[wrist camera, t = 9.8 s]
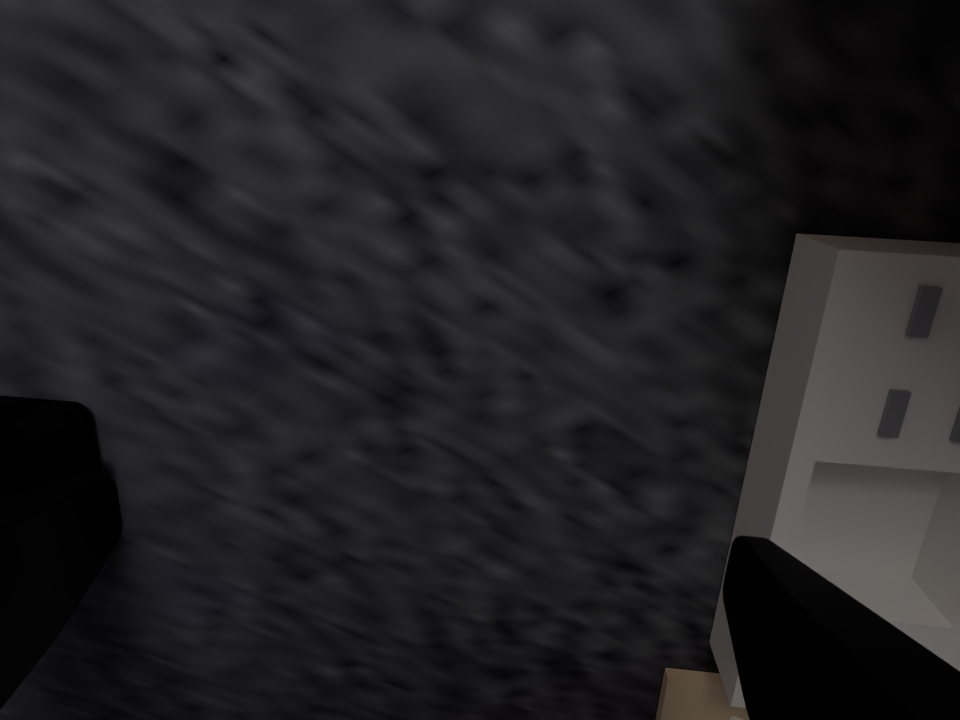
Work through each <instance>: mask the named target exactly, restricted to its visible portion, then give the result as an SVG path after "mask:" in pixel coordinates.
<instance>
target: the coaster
mask: <svg viewBox="0 0 960 720" xmlns="http://www.w3.org/2000/svg"><path fill="white" fill-rule="evenodd" d="M732 716H734V717H737V718H740V719H742V720H749V716H748V713H747V710H746V708H741V707H732V706H730V703H729V700H728V697H727V694H726V691H725V688H724V685H723V682H722V679H721V676H720V674H719V673H710V672H701V671H692V670H682V669H673V668H665V671H664V677H663V682H662V687H661V693H660V698H659V704H658V709H657V714H656V720H730V718H731V717H732Z"/></svg>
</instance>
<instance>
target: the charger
mask: <svg viewBox="0 0 960 720" xmlns="http://www.w3.org/2000/svg"><path fill="white" fill-rule="evenodd" d="M730 720H742V719H740V718H737V717H734V716H732V717H731V718H730Z"/></svg>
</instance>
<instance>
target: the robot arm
mask: <svg viewBox="0 0 960 720" xmlns="http://www.w3.org/2000/svg"><path fill="white" fill-rule="evenodd" d="M71 413H72V414H73V415H75V417H76V419H74V418H73V417H72V416H71ZM121 532H122V518H121V512H120V506H119V499H118V493H117V487H116V484H115V482H114V480H113V479H112V478H110V477H109V476H104V475H100V471H99V466H98V460H97V454H96V448H95V443H94V437H93V431H92V425H91V420H90V415H89V412H88V410H87V409H86V407H85V406H83V405H82V404H80V403H77V402H70V401H58V400H46V399H34V398H22V397H10V396H0V710H1V709H2V707H3V706H4V705H5V703H6V702H7V701H8V699H9V698H10V697H11V696H12V694H13V693H14V692H15V690H16V689H17V688H18V687H19V685H20V684H21V683H22V681H23V680H24V679H25V677H26V676H27V675H28V674H29V672H30V671H31V670H32V668H33V667H34V666H35V665H36V663H37V662H38V661H39V659H40V658H41V657H42V655H43V654H44V653H45V652H46V650H47V649H48V648H49V646H50V645H51V644H52V642H53V641H54V640H55V638H56V637H57V636H58V634H59V633H60V631H61V630H62V629H63V627H64V626H65V624H66V623H67V621H68V620H69V618H70V617H71V615H72V614H73V612H74V610H75V609H76V607H77V606H78V604H79V603H80V601H81V599H82V598H83V596H84V595H85V593H86V591H87V590H88V588H89V587H90V585H91V584H92V582H93V580H94V579H95V577H96V576H97V574H98V573H99V571H100V569H101V568H102V566H103V565H104V563H105V562H106V560H107V558H108V557H109V555H110V554H111V552H112V551H113V549H114V547H115V546H116V544H117V543H118V541H119V538H120V536H121ZM723 602H724V608H725V612H726V617H727V622H728V627H729V632H730V636H731V641H732V646H733V651H734V656H735V660H736V665H737V670H738V675H739V680H740V684H741V689H742V694H743V698H744V702H745V706H746V710H747V713H748V716H749V720H960V671H959V670H957V669H956V668H954V667H953V666H952V665H950V664H949V663H947V662H946V661H944V660H943V659H941V658H940V657H938V656H937V655H936V654H934V653H933V652H931V651H930V650H928V649H927V648H925V647H924V646H923V645H921V644H920V643H918V642H917V641H915V640H914V639H912V638H911V637H910V636H908V635H907V634H905V633H904V632H902V631H901V630H899V629H898V628H897V627H895V626H894V625H892V624H891V623H889V622H888V621H886V620H885V619H884V618H882V617H881V616H879V615H878V614H876V613H875V612H873V611H872V610H871V609H869V608H868V607H866V606H865V605H863V604H862V603H860V602H859V601H857V600H856V599H855V598H853V597H852V596H850V595H849V594H847V593H846V592H844V591H843V590H842V589H840V588H839V587H837V586H836V585H834V584H833V583H831V582H830V581H829V580H827V579H826V578H824V577H823V576H821V575H820V574H818V573H817V572H816V571H814V570H813V569H811V568H810V567H808V566H807V565H805V564H804V563H803V562H801V561H800V560H798V559H797V558H795V557H794V556H792V555H791V554H790V553H788V552H787V551H785V550H784V549H782V548H781V547H779V546H778V545H776V544H775V543H774V542H772V541H771V540H769V539H767V538H764V537H754V536H743V535H740V536H737V537H736V538H735V539H734V541H733V543H732V546H731V550H730V555H729V559H728V564H727V569H726V573H725V578H724V582H723Z"/></svg>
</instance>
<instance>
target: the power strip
mask: <svg viewBox="0 0 960 720" xmlns="http://www.w3.org/2000/svg"><path fill="white" fill-rule="evenodd" d="M740 535H743V536H754V537H764V538H767V539H769V540H771V541H772V542H774V543H775V544H776V545H778V546H779V547H781V548H782V549H784V550H785V551H787V552H788V553H790V554H791V555H792V556H794V557H795V558H797V559H798V560H800V561H801V562H803V563H804V564H805V565H807V566H808V567H810V568H811V569H813V570H814V571H816V572H817V573H818V574H820V575H821V576H823V577H824V578H826V579H827V580H829V581H830V582H831V583H833V584H834V585H836V586H837V587H839V588H840V589H842V590H843V591H844V592H846V593H847V594H849V595H850V596H852V597H853V598H855V599H856V600H857V601H859V602H860V603H862V604H863V605H865V606H866V607H868V608H869V609H871V610H872V611H873V612H875V613H876V614H878V615H879V616H881V617H882V618H884V619H885V620H886V621H888V622H889V623H891V624H892V625H894V626H895V627H897V628H898V629H899V630H901V631H902V632H904V633H905V634H907V635H908V636H910V637H911V638H912V639H914V640H915V641H917V642H918V643H920V644H921V645H923V646H924V647H925V648H927V649H928V650H930V651H931V652H933V653H934V654H936V655H937V656H938V657H940V658H941V659H943V660H944V661H946V662H947V663H949V664H950V665H952V666H953V667H954V668H956V669H957V670H959V671H960V243H947V242H930V241H914V240H897V239H880V238H863V237H847V236H830V235H813V234H796V238H795V243H794V248H793V252H792V257H791V262H790V266H789V271H788V276H787V280H786V285H785V290H784V295H783V299H782V304H781V309H780V313H779V318H778V323H777V327H776V332H775V337H774V341H773V346H772V351H771V355H770V360H769V365H768V370H767V374H766V379H765V384H764V388H763V393H762V398H761V402H760V407H759V412H758V416H757V421H756V426H755V430H754V435H753V440H752V445H751V449H750V454H749V459H748V463H747V468H746V473H745V477H744V482H743V487H742V491H741V496H740V501H739V506H738V510H737V515H736V520H735V524H734V529H733V534H732V538H731V543H730V548H729V552H728V557H727V562H726V566H725V571H724V576H723V581H722V585H721V590H720V595H719V599H718V604H717V609H716V613H715V618H714V623H713V627H712V632H711V637H710V641H709V643H710V646H711V649H712V652H713V655H714V658H715V661H716V664H717V667H718V670H719V673H720V676H721V679H722V682H723V685H724V688H725V691H726V694H727V697H728V700H729V703H730V706H732V707H741V708H746V706H745V702H744V698H743V694H742V689H741V684H740V680H739V675H738V670H737V665H736V660H735V656H734V651H733V646H732V641H731V636H730V632H729V627H728V622H727V617H726V612H725V608H724V602H723V582H724V578H725V573H726V569H727V564H728V559H729V555H730V550H731V546H732V543H733V541H734V539H735V538H736V537H737V536H740Z"/></svg>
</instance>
